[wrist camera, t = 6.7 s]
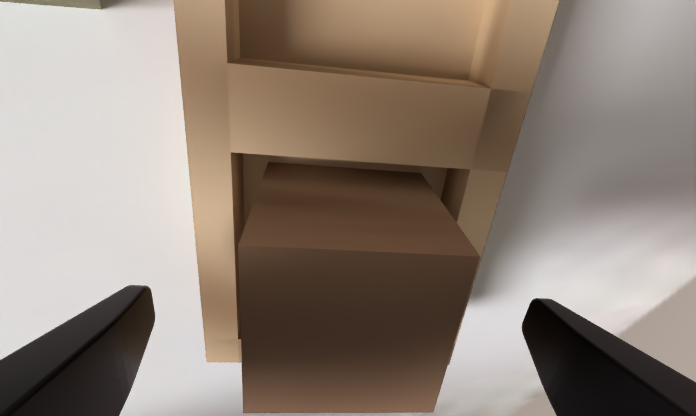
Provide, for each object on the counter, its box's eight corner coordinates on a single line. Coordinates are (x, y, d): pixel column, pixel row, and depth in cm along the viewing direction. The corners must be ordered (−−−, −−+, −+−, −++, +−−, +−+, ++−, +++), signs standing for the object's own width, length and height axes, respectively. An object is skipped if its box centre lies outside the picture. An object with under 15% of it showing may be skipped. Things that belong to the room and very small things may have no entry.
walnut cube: (397, 292, 13) (433, 412, 9) (267, 288, 12) (243, 413, 8) (420, 172, 11) (480, 256, 7) (268, 162, 11) (238, 244, 7)
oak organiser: (427, 310, 15) (448, 364, 13) (225, 304, 14) (206, 361, 12) (567, -255, 8) (673, -374, 6) (190, -334, 7) (126, -514, 5)
